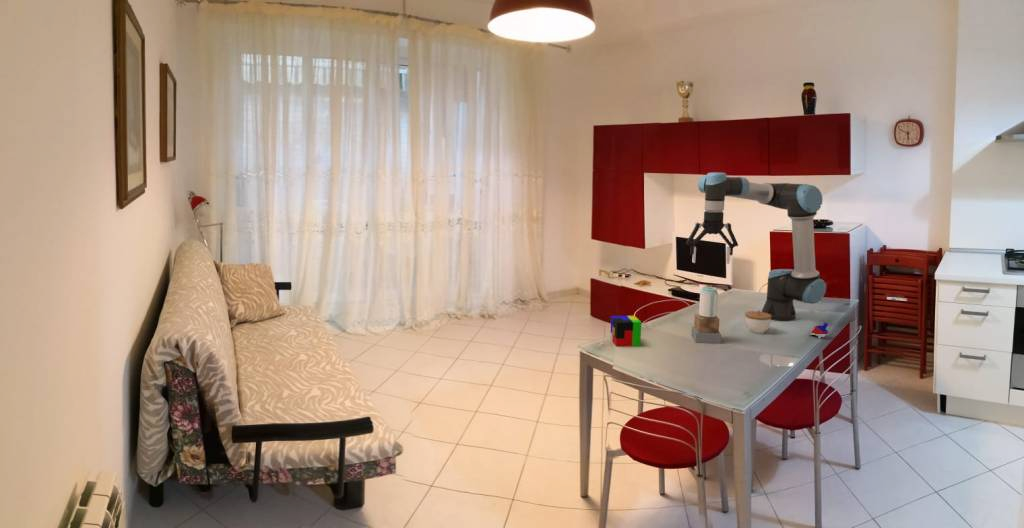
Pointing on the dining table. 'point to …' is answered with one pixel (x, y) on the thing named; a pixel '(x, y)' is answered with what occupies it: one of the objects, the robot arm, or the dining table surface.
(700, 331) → the walnut brick
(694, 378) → the dining table surface
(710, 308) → the can
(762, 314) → the lidded jar
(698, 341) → the tower base
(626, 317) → the puzzle toy
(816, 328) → the multicoloured piece
